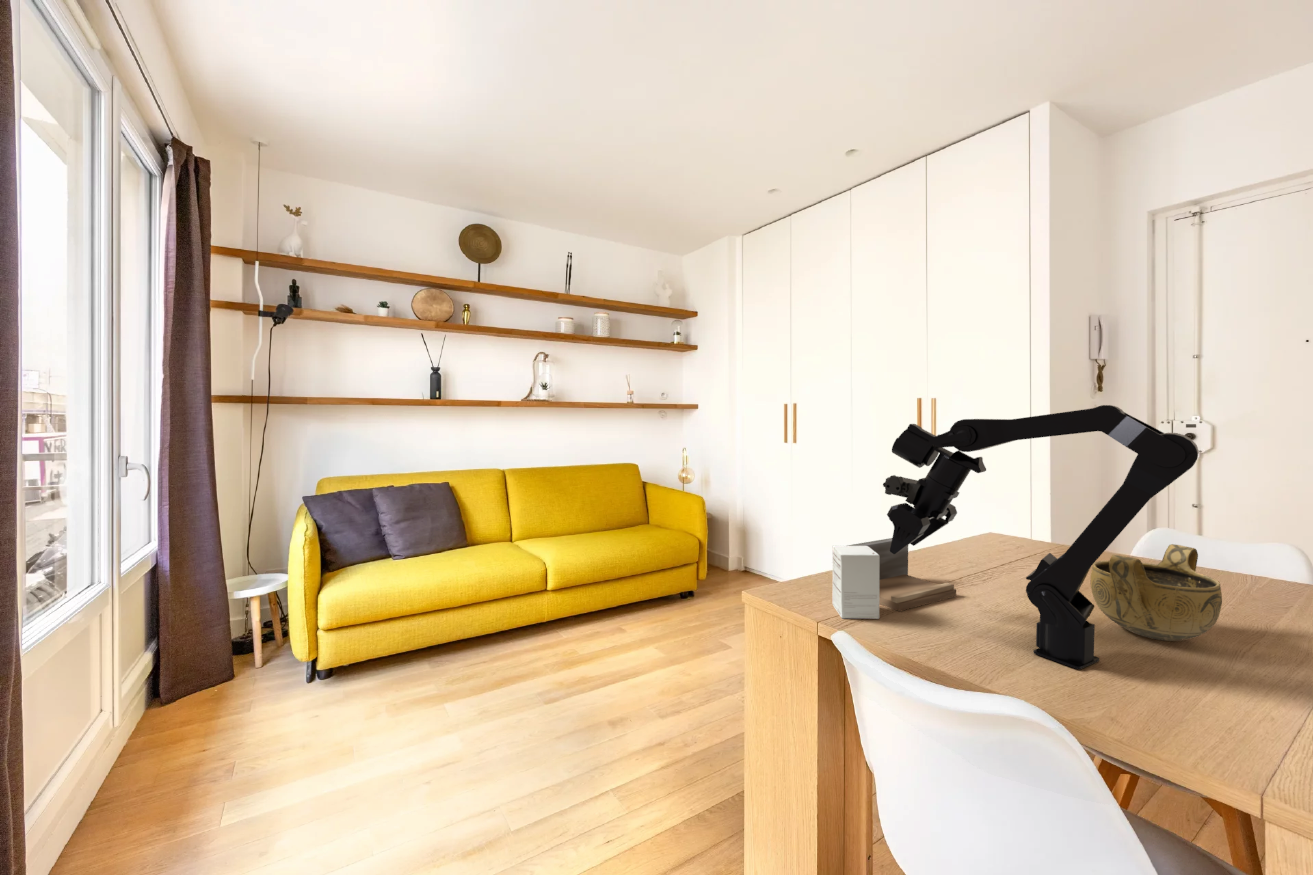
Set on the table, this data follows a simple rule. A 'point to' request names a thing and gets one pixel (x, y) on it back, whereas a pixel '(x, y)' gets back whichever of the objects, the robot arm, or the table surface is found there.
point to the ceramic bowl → (1158, 595)
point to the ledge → (904, 580)
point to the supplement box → (855, 582)
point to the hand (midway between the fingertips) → (902, 548)
